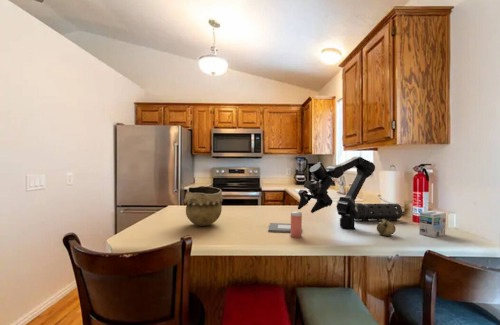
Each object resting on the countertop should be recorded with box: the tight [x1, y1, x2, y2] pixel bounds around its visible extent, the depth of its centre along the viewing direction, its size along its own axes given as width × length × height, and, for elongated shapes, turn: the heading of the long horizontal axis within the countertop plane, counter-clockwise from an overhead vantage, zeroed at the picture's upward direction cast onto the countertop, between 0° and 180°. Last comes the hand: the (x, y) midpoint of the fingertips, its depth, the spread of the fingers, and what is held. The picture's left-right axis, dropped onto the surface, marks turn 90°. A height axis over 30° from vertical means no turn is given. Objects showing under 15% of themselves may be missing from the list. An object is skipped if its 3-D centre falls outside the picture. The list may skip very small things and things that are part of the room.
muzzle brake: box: [355, 202, 403, 222], centre depth 156 cm, size 10×28×10 cm, turn 95°
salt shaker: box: [289, 210, 303, 239], centre depth 122 cm, size 5×5×11 cm
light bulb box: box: [418, 210, 447, 238], centre depth 128 cm, size 11×7×11 cm, turn 117°
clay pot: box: [182, 185, 224, 227], centre depth 140 cm, size 21×21×20 cm
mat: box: [267, 222, 291, 234], centre depth 135 cm, size 16×14×1 cm
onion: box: [376, 219, 397, 237], centre depth 126 cm, size 8×8×8 cm
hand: (304, 210), depth 125 cm, fingers open, 9 cm apart
